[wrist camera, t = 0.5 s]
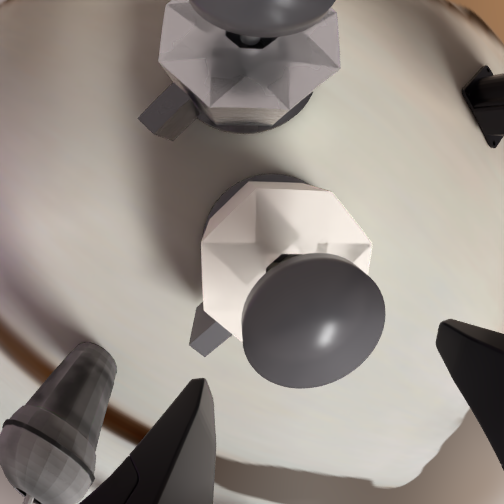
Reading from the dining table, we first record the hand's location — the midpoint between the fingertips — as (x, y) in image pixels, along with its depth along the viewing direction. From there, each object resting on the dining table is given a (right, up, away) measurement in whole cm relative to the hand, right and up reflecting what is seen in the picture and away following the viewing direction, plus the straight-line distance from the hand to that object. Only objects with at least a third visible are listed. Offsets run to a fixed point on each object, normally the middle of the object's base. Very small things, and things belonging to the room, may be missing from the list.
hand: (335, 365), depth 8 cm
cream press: (-2, +3, +12) cm, 13 cm away
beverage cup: (-17, -7, +15) cm, 23 cm away
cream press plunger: (-1, +2, +7) cm, 8 cm away
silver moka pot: (-4, +15, +9) cm, 18 cm away
